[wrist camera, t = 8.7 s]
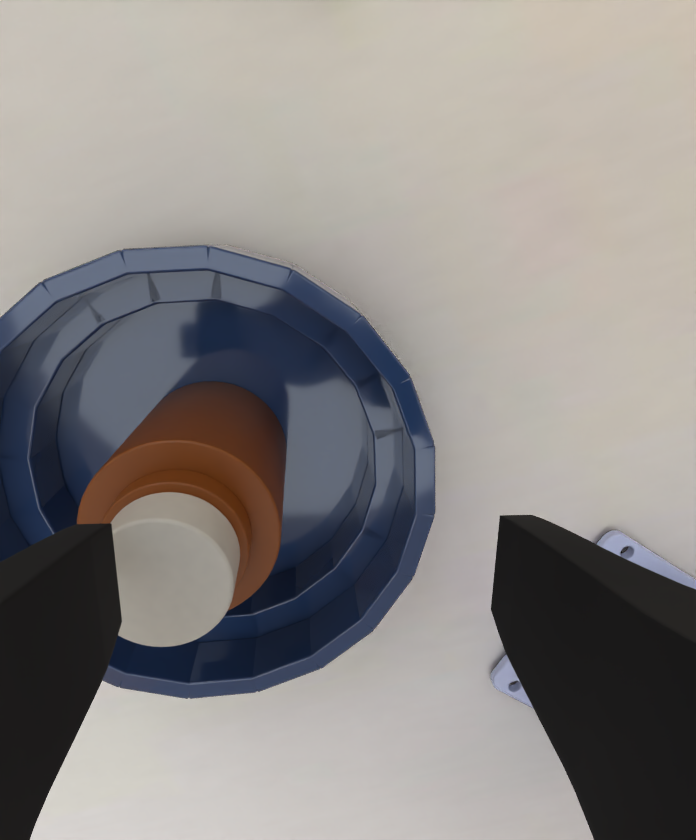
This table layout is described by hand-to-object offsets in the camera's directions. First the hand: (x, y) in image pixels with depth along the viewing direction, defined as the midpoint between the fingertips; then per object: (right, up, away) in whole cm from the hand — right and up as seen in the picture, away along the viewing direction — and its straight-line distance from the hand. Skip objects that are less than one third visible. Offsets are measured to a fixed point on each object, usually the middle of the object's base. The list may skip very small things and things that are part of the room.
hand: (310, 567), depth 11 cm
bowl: (-4, +2, +9) cm, 10 cm away
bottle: (-4, +2, +9) cm, 10 cm away
